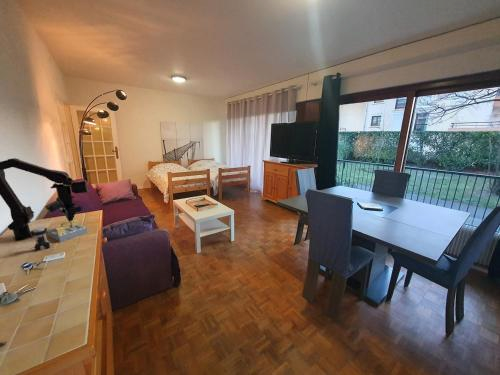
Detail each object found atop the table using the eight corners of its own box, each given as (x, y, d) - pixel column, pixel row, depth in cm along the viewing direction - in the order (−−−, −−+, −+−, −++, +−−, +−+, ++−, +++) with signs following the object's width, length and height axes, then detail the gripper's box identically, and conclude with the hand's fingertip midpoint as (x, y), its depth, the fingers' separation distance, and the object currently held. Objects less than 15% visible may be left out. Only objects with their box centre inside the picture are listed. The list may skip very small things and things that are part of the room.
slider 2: (61, 228, 111) (60, 223, 110) (68, 226, 113) (67, 221, 113) (63, 229, 110) (62, 224, 109) (70, 227, 112) (68, 222, 111)
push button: (29, 253, 93) (24, 232, 90) (32, 248, 97) (27, 228, 95) (50, 249, 96) (45, 229, 94) (52, 244, 101) (47, 225, 98)
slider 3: (70, 226, 114) (69, 221, 114) (76, 224, 117) (75, 219, 116) (72, 226, 113) (71, 221, 113) (78, 225, 116) (77, 220, 115)
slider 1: (56, 234, 105) (55, 228, 104) (63, 231, 107) (62, 226, 106) (58, 235, 103) (57, 229, 103) (65, 232, 106) (64, 227, 105)
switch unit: (49, 236, 110) (47, 230, 109) (75, 228, 120) (74, 222, 119) (60, 242, 103) (58, 235, 102) (87, 233, 113) (86, 227, 112)
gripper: (38, 196, 111) (44, 224, 115) (52, 201, 102) (59, 230, 106) (64, 191, 121) (69, 217, 124) (79, 195, 111) (85, 223, 115)
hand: (70, 222), depth 117 cm, fingers closed
